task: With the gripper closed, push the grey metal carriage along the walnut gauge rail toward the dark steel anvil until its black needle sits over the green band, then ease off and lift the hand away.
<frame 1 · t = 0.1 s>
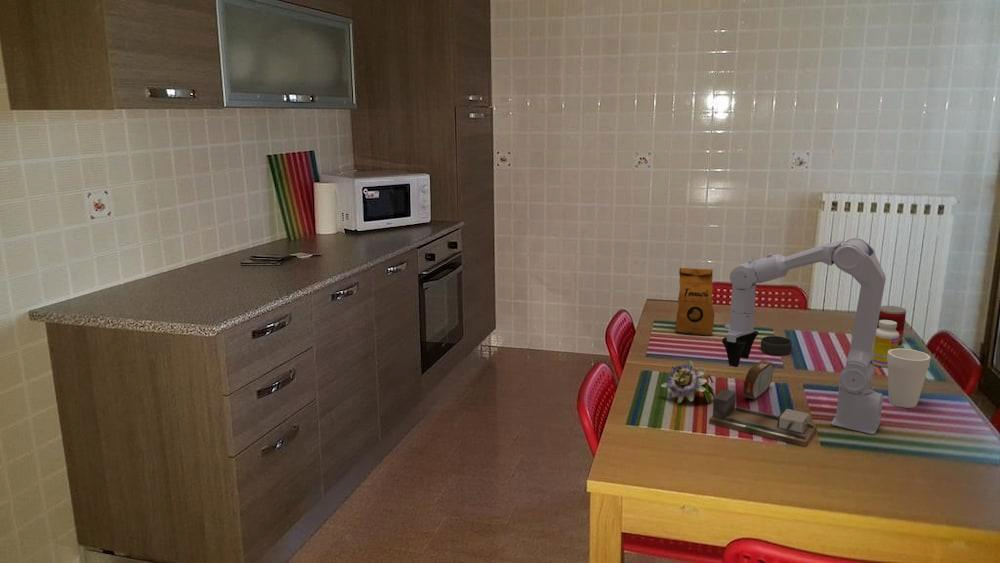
hand: (738, 361, 189), 10 cm above the table, tool pointing down, fingers open, 7 cm apart
canned food: (888, 342, 235), on the table
tin: (757, 395, 194), on the table
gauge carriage: (791, 423, 168), point 3 cm above the table, slide at 0.0 cm
supplement bottle: (882, 364, 215), on the table
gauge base: (762, 427, 174), on the table
passion flower: (688, 399, 191), on the table
coffee package: (694, 332, 247), on the table
smart speaker: (775, 352, 227), on the table
foam cup: (902, 403, 187), on the table
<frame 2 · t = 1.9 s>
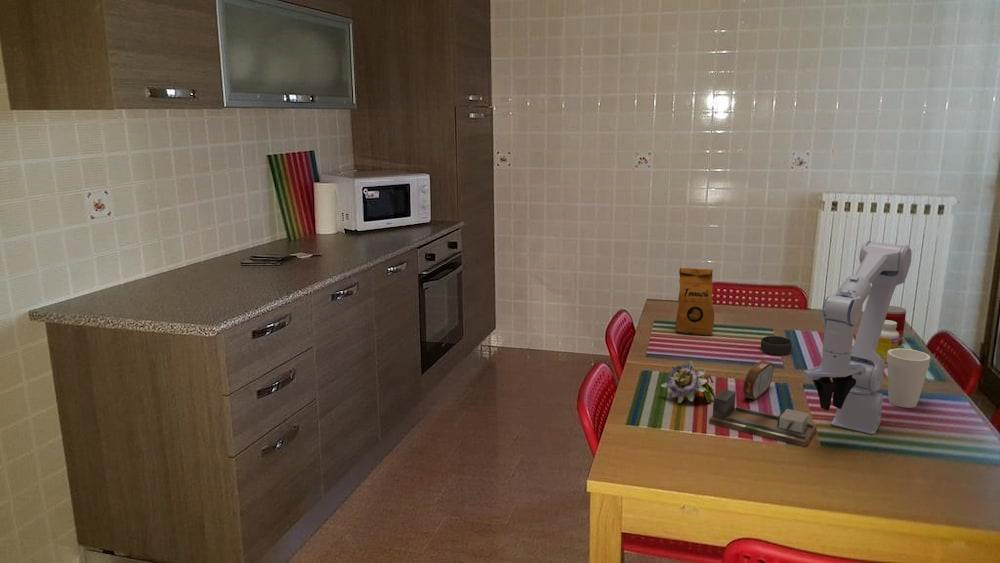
hand: (830, 407, 164), 8 cm above the table, tool pointing down, fingers open, 3 cm apart
nothing on the table moved.
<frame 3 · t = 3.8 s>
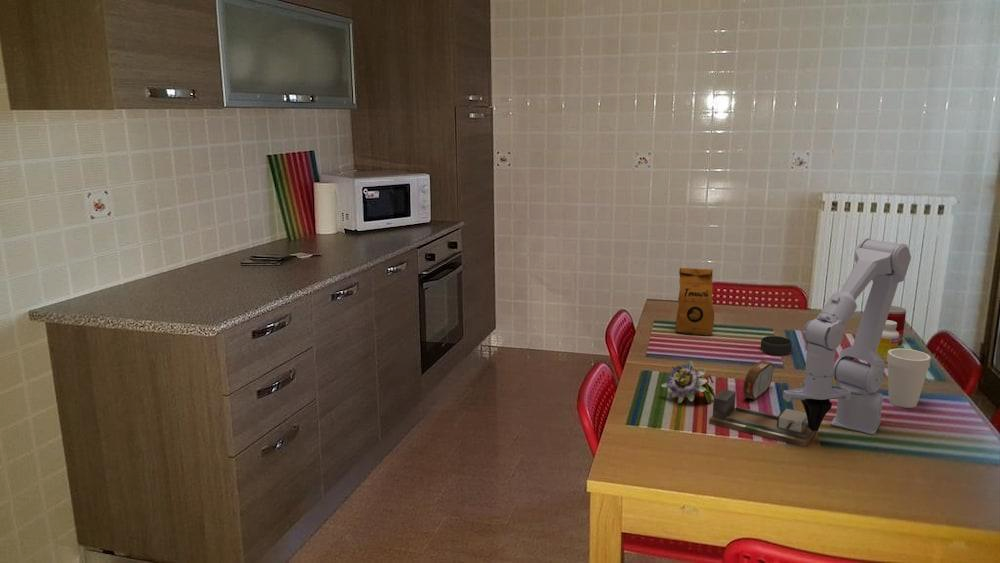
hand: (813, 429, 167), 2 cm above the table, tool pointing down, fingers closed
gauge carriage: (790, 423, 169), point 3 cm above the table, slide at 0.1 cm, touching gripper
everything else where it was.
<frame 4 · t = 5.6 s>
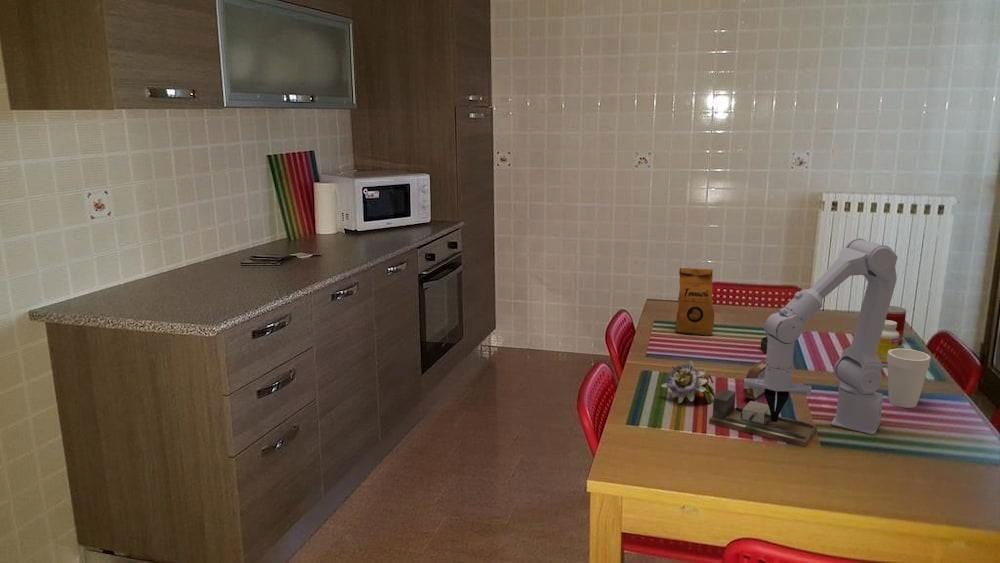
hand: (774, 420, 172), 2 cm above the table, tool pointing down, fingers closed
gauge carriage: (754, 414, 173), point 3 cm above the table, slide at 8.5 cm, touching gripper
everything else where it was.
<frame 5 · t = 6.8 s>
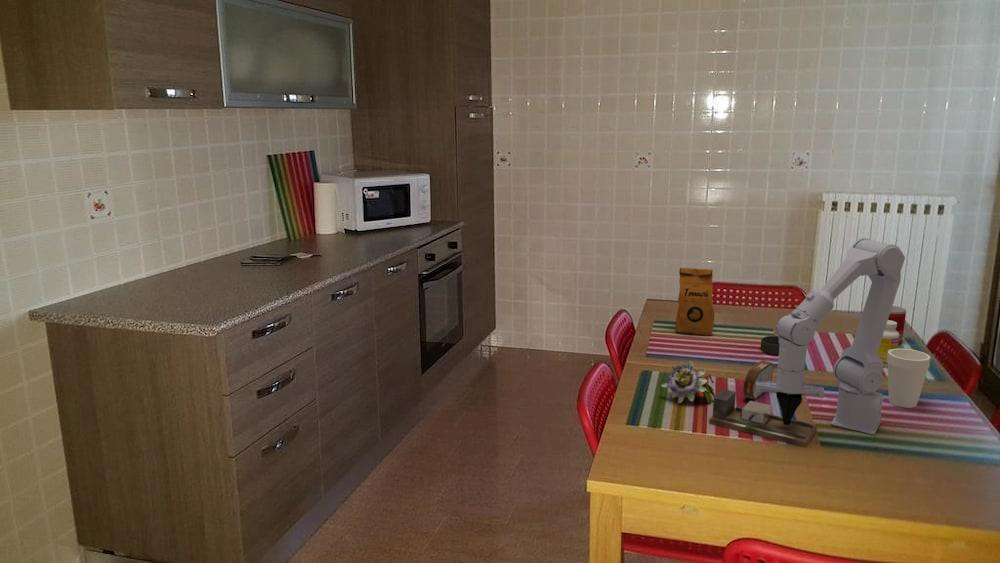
hand: (786, 423, 170), 2 cm above the table, tool pointing down, fingers closed
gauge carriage: (753, 414, 173), point 3 cm above the table, slide at 8.6 cm
everything else where it was.
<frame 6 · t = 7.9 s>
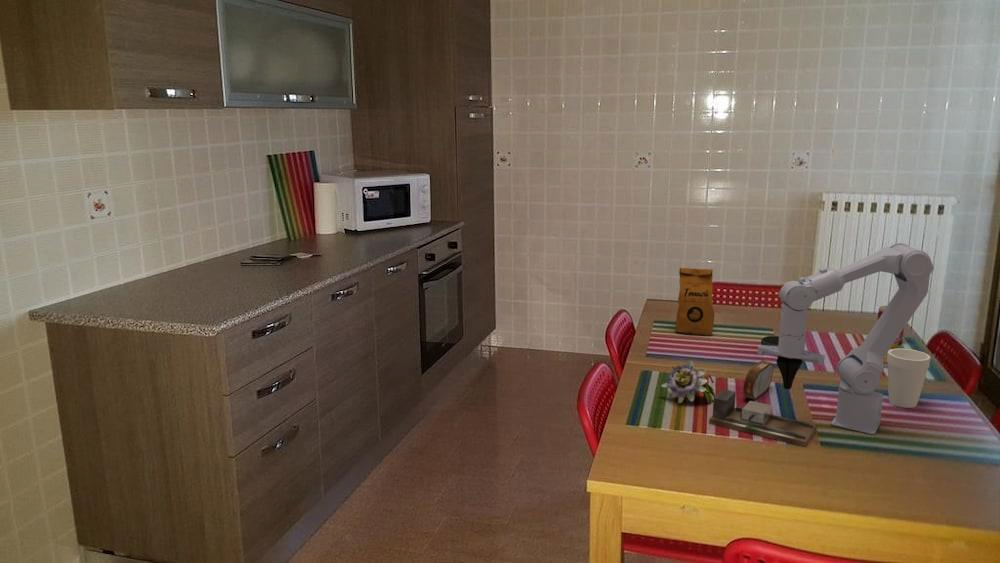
hand: (787, 387, 174), 9 cm above the table, tool pointing down, fingers closed
nothing on the table moved.
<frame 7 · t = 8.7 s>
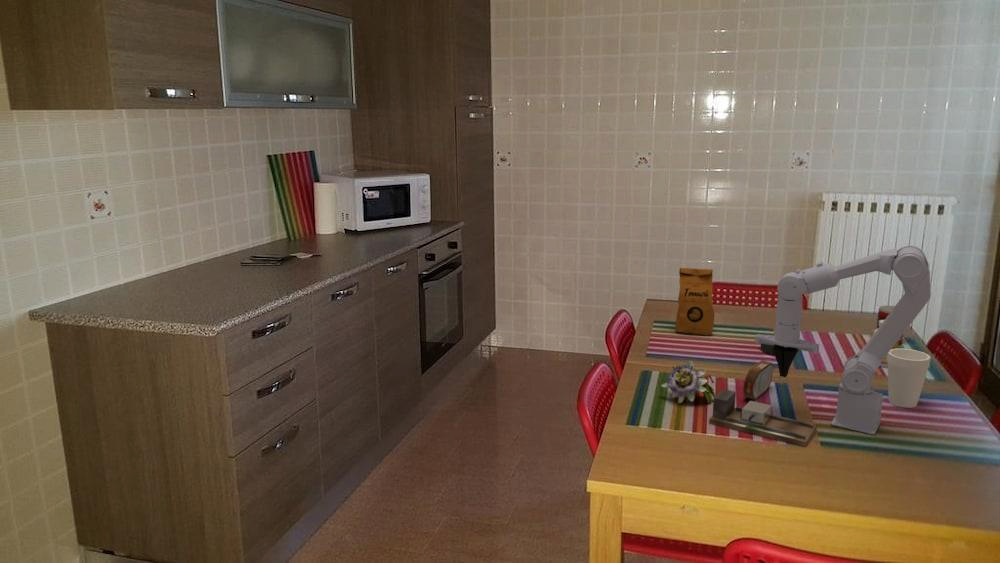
hand: (783, 375, 181), 9 cm above the table, tool pointing down, fingers closed
nothing on the table moved.
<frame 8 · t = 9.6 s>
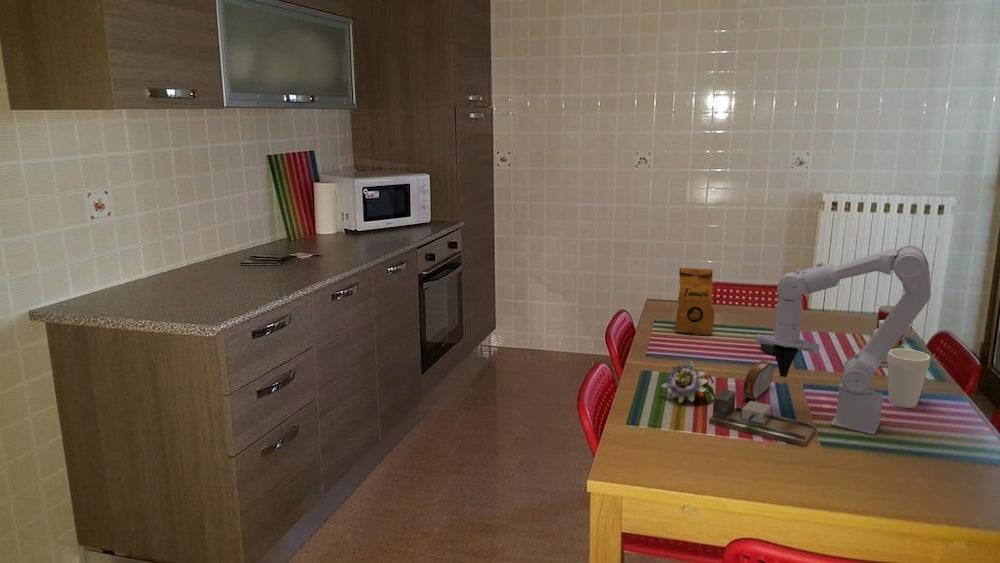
hand: (783, 375, 181), 9 cm above the table, tool pointing down, fingers closed
nothing on the table moved.
at the end: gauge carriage slide at 8.6 cm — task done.
